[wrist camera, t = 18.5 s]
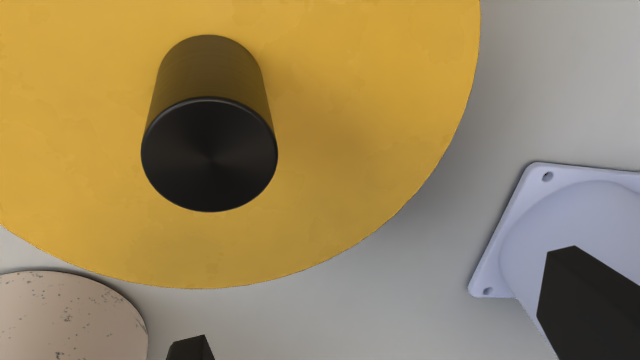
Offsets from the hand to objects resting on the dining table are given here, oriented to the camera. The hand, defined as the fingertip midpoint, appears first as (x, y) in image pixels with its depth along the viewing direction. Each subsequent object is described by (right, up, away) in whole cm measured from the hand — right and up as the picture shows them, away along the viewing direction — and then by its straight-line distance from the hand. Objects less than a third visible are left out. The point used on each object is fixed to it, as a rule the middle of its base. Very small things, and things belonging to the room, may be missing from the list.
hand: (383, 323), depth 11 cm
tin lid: (-4, +6, +2) cm, 7 cm away
